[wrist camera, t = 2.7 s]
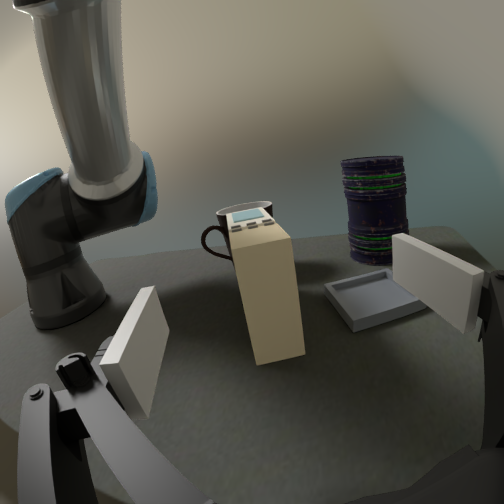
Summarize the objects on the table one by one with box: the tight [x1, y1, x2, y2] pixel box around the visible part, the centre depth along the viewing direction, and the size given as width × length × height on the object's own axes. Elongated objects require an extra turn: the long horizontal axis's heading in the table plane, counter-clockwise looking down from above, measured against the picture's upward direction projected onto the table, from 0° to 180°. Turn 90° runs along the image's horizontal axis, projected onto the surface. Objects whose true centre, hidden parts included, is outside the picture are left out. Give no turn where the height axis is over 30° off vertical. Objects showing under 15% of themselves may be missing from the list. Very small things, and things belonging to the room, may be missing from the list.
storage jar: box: [341, 156, 409, 266], centre depth 42 cm, size 10×10×15 cm
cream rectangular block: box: [229, 222, 305, 365], centre depth 26 cm, size 4×6×11 cm
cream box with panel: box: [226, 207, 275, 232], centre depth 34 cm, size 4×9×11 cm, turn 6°
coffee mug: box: [201, 201, 273, 271], centre depth 47 cm, size 12×9×10 cm
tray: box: [324, 268, 427, 333], centre depth 31 cm, size 9×9×1 cm
